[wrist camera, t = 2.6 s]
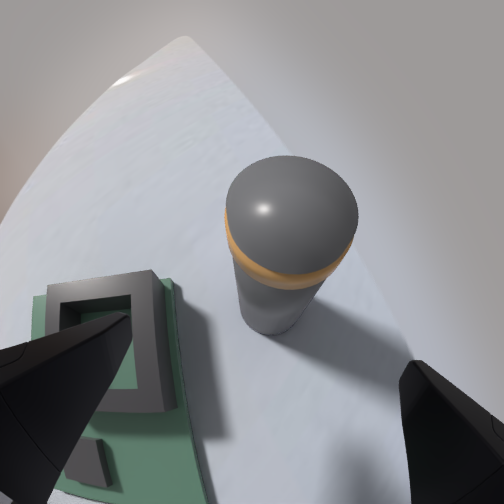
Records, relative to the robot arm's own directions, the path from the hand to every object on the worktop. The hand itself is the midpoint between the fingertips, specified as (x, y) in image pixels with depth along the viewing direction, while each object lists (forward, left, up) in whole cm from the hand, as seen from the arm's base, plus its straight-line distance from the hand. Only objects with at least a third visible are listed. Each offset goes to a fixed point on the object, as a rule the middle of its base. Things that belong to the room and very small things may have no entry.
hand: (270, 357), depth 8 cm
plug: (+4, -2, -12) cm, 12 cm away
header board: (-1, +12, -11) cm, 17 cm away
